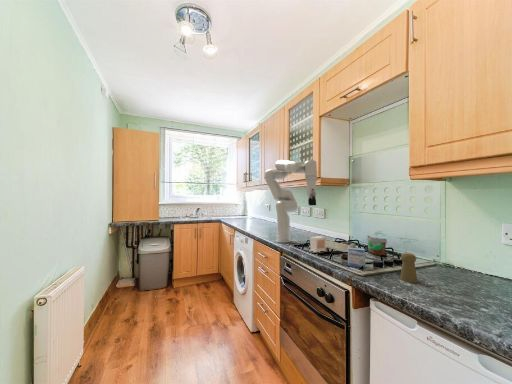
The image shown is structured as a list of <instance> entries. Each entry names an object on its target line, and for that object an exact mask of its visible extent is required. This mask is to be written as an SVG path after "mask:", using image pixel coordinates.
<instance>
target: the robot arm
mask: <svg viewBox="0 0 512 384" xmlns="http://www.w3.org/2000/svg"><path fill="white" fill-rule="evenodd" d="M274 167H275V168H269V169H267V170H266V171H265V173H264V180H265V182H266V184H267V186H268V187H269V190H270V192H271V194H272V198H273V199H274V200H275V201H277V202H276V203H275V209H276V217H277V218H276V219H277V221H276V226H277V227H276V230H277V234H276V235H275V238H276V239H275V240H274V241H275V242H277V243H282V244H283V243H286V244H288V243H291V242H292V241H293V240H292V239H291V238H290V237H291V236H290V235H291V234H290V233H291V232H290V230H291V229H290V227H291V226H290V225H291V222H290V220H291V219H290V215H289V214H288V213H294V212H296V211H297V210H298V203H297V201H296V198H295V196H294V194H293V192H292V191H291V190H290V189H284V188H282V187H281V185H280V183H279V182H278V180H280V181H281V180H284V179H286V178H287V176H288V175H289V174H290V173H294V174H304V177H305V178H304V180H305V183H306V197H308V198H307V199H308V200H307V201H308V206H317V198H316V196H317V184H316V182H318V172H317V171H318V170H317V168H318V167H317V161H316V160H313V159H308V160H306V161H305V162H301V161H292V160H286V159H279V160H277V161H276V162H275V163H274ZM276 180H277V181H276Z"/></svg>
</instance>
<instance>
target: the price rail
mask: <svg viewBox="0 0 512 384" xmlns="http://www.w3.org/2000/svg"><path fill="white" fill-rule="evenodd" d="M348 248H356V243H350V244H345V243H340V242H338V241H337V242H336V241H331V240H327V239H325V249H330V250H335V251H339V252H342V253H345V252H348Z"/></svg>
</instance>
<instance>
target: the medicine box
mask: <svg viewBox="0 0 512 384" xmlns="http://www.w3.org/2000/svg"><path fill="white" fill-rule="evenodd" d="M347 266H348V267H350V266H351V267H353V268H361V267H362V266H363V269H365V268H366V249H365V248H360V247H355V248H348V253H347Z"/></svg>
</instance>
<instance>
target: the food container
mask: <svg viewBox="0 0 512 384" xmlns="http://www.w3.org/2000/svg"><path fill="white" fill-rule="evenodd" d="M365 240H366V241H367V250H368V254H369V255H372V256H380V257H382V256H381V255H384V256H385V255H386V245H387V242H388V240H387V238H379V237H371V236H370V235H366V239H365Z"/></svg>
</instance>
